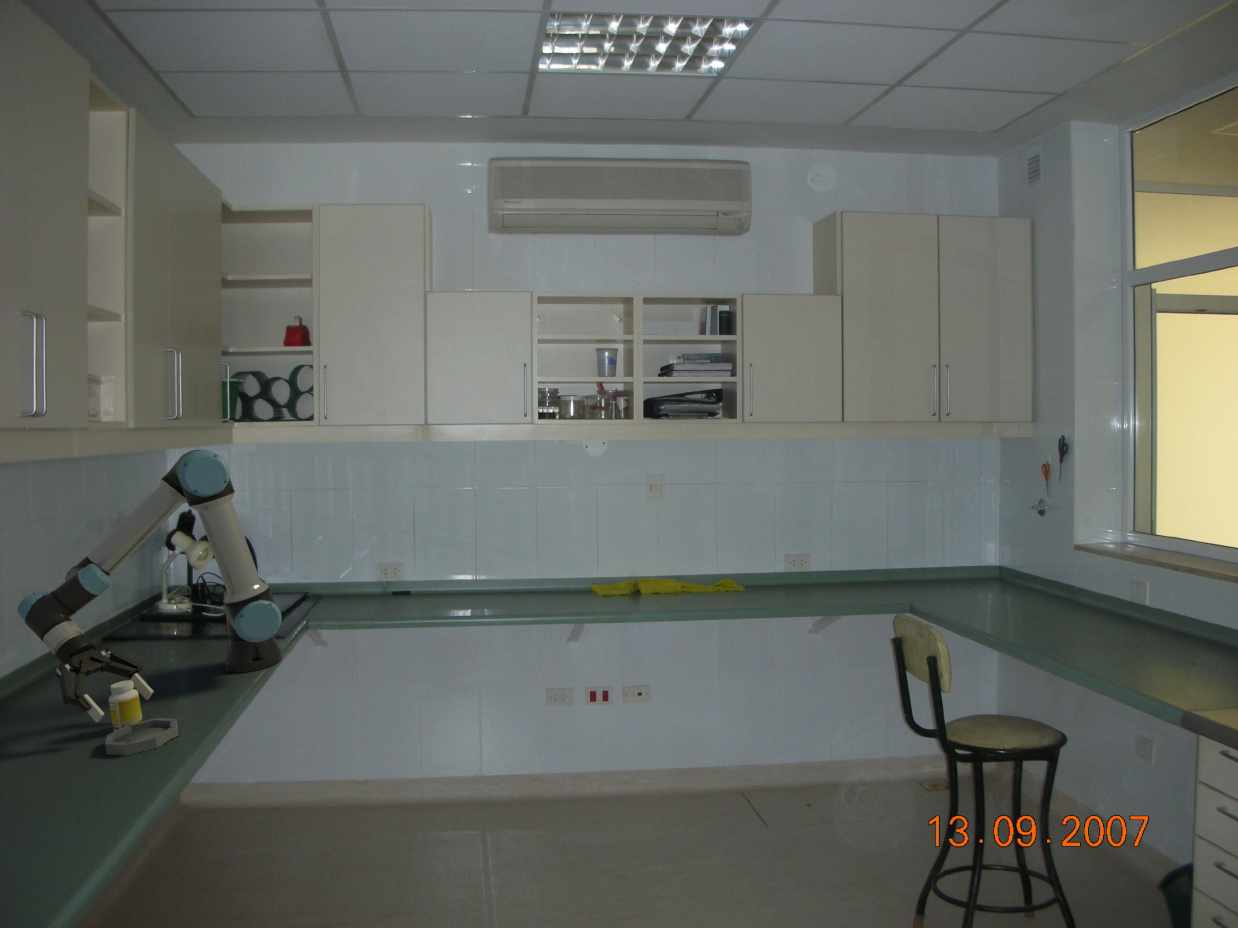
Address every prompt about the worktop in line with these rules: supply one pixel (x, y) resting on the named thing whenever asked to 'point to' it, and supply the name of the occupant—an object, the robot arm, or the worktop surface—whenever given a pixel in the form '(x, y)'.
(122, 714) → the pill bottle
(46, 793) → the worktop surface
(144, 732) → the octagonal tray
